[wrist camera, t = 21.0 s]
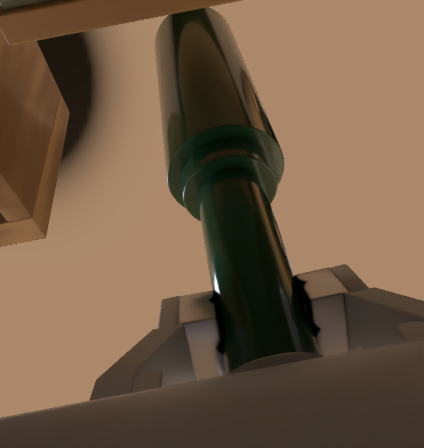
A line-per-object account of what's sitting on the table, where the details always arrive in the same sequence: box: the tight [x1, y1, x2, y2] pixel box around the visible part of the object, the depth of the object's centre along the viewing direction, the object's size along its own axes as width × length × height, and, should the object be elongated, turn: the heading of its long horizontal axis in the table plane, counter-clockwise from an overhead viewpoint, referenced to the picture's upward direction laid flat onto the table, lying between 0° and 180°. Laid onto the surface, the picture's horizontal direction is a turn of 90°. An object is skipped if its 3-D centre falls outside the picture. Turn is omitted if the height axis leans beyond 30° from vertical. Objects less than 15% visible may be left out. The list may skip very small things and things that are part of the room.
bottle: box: [155, 7, 325, 375], centre depth 15 cm, size 20×4×4 cm, turn 172°
